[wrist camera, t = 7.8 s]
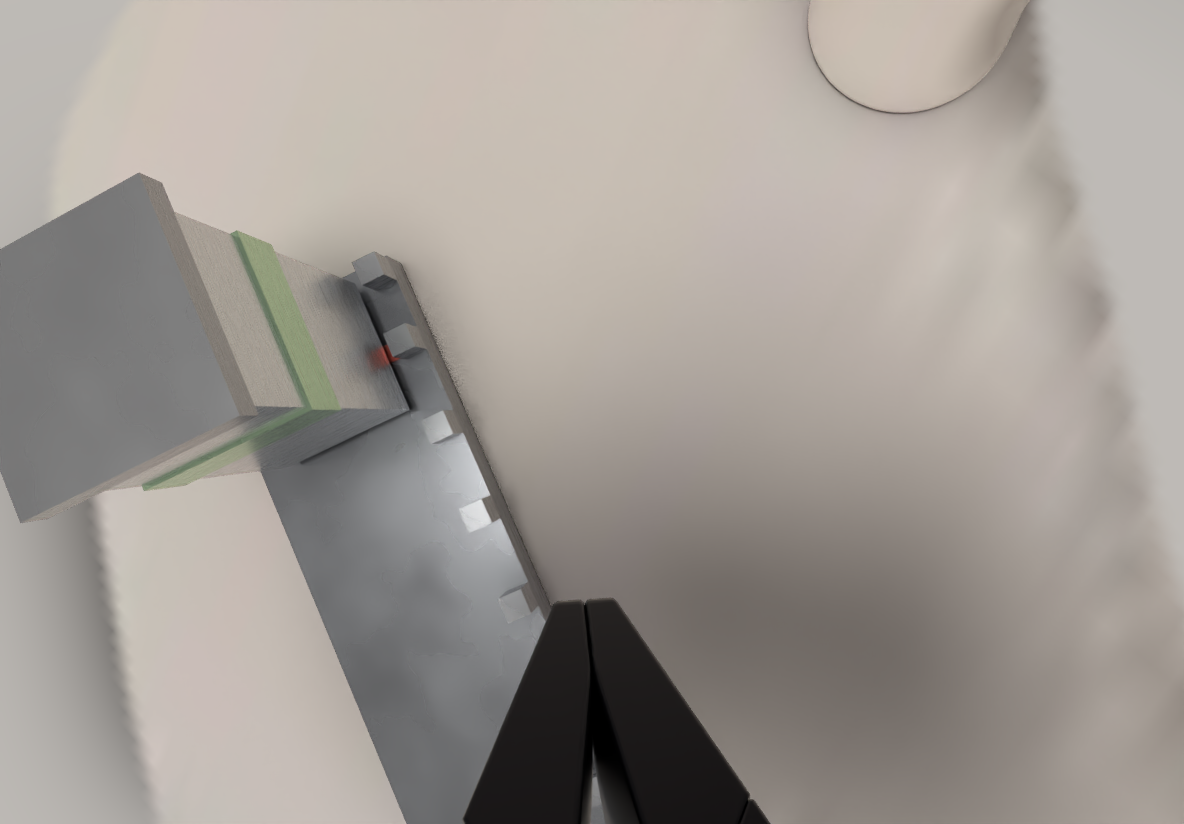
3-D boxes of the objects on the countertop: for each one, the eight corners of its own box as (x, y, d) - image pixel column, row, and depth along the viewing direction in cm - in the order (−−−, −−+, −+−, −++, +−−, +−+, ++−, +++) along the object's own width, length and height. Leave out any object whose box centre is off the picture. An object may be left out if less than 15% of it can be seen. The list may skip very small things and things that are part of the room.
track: (690, 926, 23) (690, 1033, 19) (499, 992, 24) (461, 1109, 20) (400, 263, 24) (344, 234, 20) (231, 349, 25) (145, 336, 21)
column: (422, 415, 22) (239, 415, 13) (284, 480, 23) (20, 523, 14) (359, 269, 23) (138, 172, 14) (225, 338, 23) (-71, 288, 14)
